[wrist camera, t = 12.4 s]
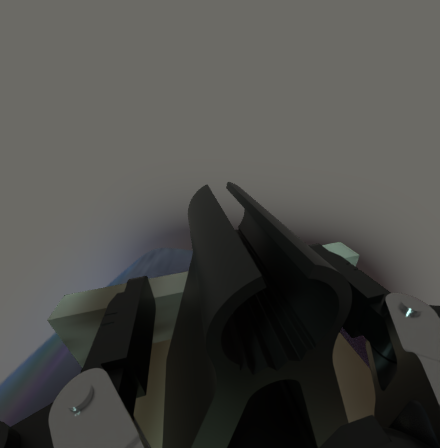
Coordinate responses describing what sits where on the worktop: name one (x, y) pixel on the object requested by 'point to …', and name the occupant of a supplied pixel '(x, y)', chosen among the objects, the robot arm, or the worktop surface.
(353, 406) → the wall board
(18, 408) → the worktop surface
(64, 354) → the worktop surface
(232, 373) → the phone stand
